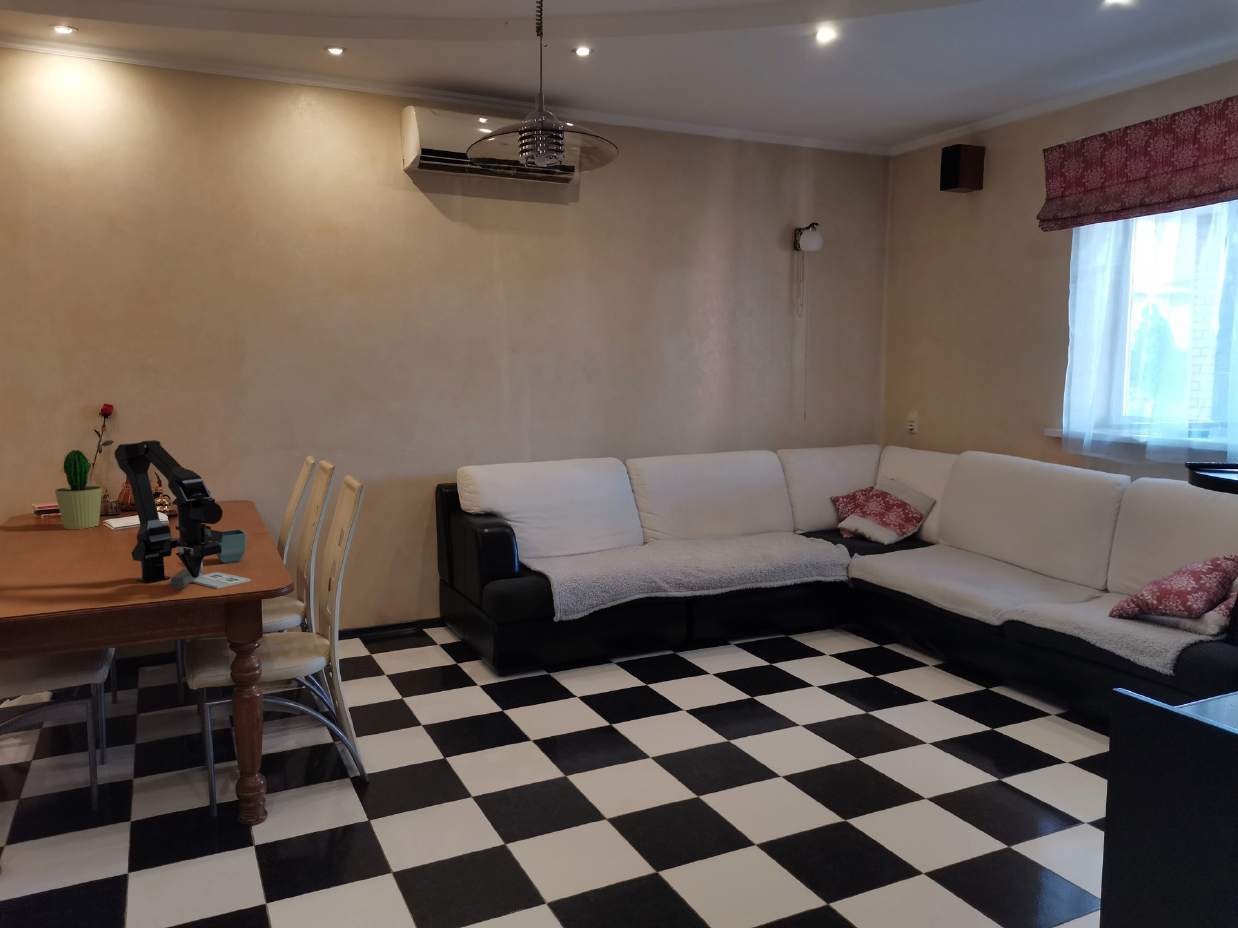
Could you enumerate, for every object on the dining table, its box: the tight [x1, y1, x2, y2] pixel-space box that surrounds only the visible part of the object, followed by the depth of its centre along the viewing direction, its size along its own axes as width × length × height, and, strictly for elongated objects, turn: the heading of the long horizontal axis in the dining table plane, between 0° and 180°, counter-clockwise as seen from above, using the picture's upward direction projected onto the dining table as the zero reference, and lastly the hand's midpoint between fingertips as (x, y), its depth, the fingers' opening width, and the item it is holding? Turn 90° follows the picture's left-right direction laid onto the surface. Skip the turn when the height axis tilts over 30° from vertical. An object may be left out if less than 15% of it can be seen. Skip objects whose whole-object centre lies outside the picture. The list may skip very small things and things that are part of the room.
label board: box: [190, 571, 251, 590], centre depth 250 cm, size 19×10×1 cm, turn 56°
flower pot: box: [211, 529, 247, 564], centre depth 274 cm, size 9×9×9 cm
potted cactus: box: [54, 449, 103, 530], centre depth 334 cm, size 15×15×30 cm
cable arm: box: [170, 560, 204, 589], centre depth 246 cm, size 20×3×3 cm, turn 11°
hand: (195, 577), depth 242 cm, fingers closed
